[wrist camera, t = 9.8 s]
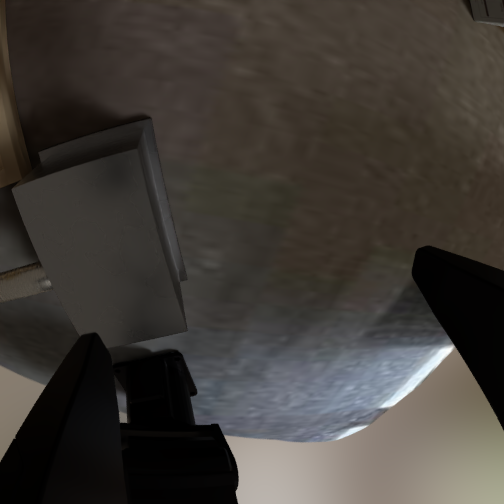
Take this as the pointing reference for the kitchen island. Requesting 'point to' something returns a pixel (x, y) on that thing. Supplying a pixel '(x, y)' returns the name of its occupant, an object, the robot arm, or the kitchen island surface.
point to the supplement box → (488, 11)
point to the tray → (9, 119)
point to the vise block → (103, 236)
